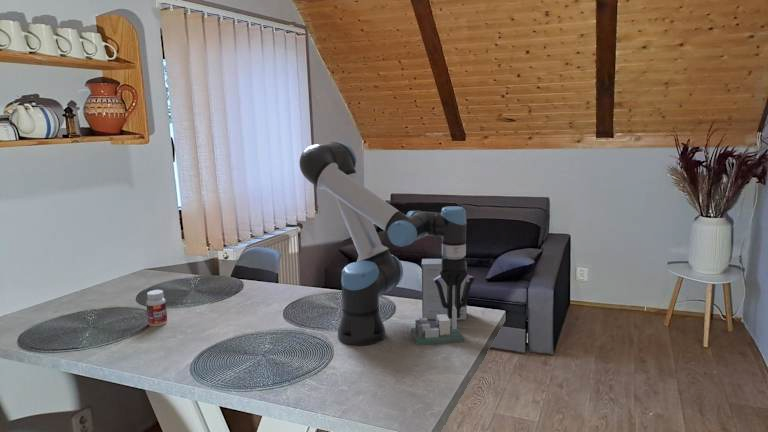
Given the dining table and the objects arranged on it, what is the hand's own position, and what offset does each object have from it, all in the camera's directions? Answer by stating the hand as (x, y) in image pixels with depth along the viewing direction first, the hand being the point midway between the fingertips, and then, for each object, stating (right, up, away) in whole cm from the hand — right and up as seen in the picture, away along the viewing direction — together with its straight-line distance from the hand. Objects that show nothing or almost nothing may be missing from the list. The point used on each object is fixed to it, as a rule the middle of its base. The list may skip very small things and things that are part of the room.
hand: (453, 327), depth 175 cm
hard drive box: (-1, 0, +17) cm, 17 cm away
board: (-5, -3, 0) cm, 6 cm away
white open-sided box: (-3, -1, 0) cm, 4 cm away
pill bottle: (-100, -2, +14) cm, 101 cm away
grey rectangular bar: (-7, +1, -1) cm, 7 cm away
